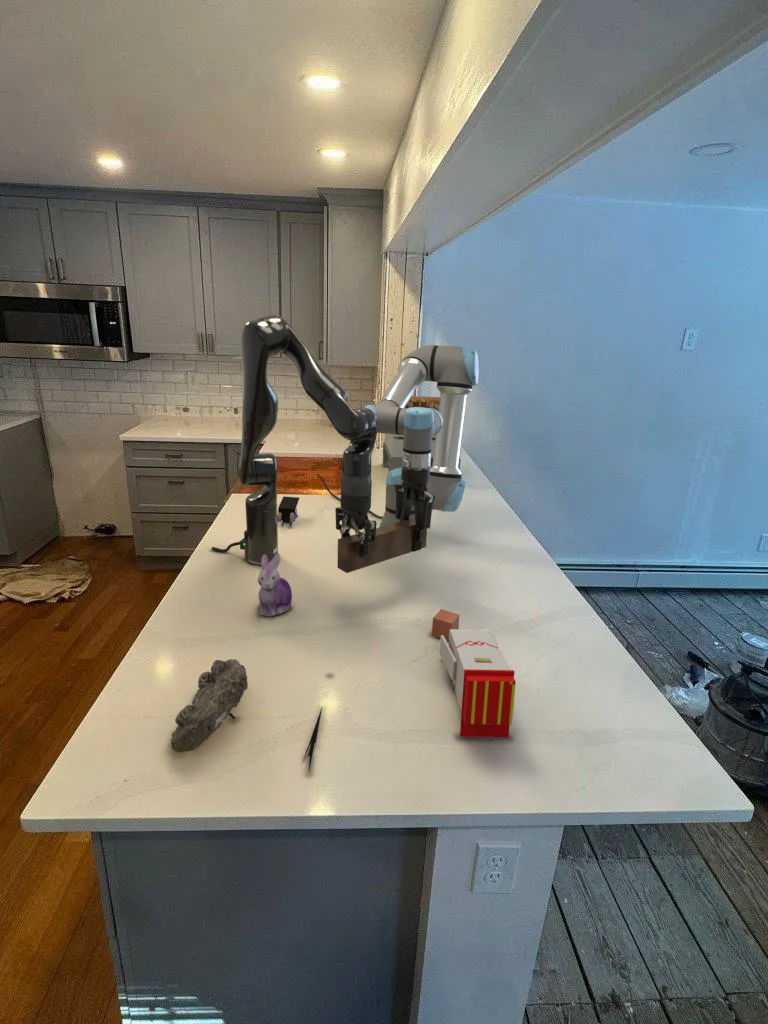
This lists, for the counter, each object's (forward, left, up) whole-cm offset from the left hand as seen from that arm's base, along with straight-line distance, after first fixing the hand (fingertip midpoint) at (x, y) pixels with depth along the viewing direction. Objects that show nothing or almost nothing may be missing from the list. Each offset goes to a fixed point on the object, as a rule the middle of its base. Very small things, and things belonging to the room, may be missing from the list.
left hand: (354, 552), depth 145 cm
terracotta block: (+25, -6, -16) cm, 30 cm away
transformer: (-6, +134, -16) cm, 135 cm away
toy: (+34, -27, -16) cm, 46 cm away
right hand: (+12, +16, -4) cm, 20 cm away
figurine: (-19, -7, -16) cm, 26 cm away
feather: (+6, -44, -16) cm, 47 cm away
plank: (+6, +8, -4) cm, 11 cm away
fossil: (-13, -48, -16) cm, 53 cm away
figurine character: (-40, +52, -16) cm, 68 cm away
